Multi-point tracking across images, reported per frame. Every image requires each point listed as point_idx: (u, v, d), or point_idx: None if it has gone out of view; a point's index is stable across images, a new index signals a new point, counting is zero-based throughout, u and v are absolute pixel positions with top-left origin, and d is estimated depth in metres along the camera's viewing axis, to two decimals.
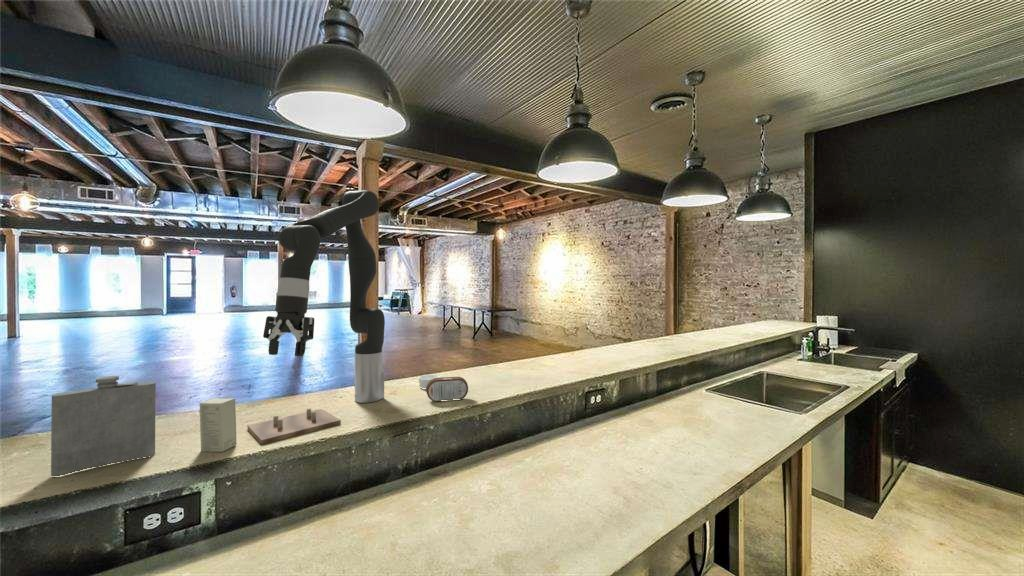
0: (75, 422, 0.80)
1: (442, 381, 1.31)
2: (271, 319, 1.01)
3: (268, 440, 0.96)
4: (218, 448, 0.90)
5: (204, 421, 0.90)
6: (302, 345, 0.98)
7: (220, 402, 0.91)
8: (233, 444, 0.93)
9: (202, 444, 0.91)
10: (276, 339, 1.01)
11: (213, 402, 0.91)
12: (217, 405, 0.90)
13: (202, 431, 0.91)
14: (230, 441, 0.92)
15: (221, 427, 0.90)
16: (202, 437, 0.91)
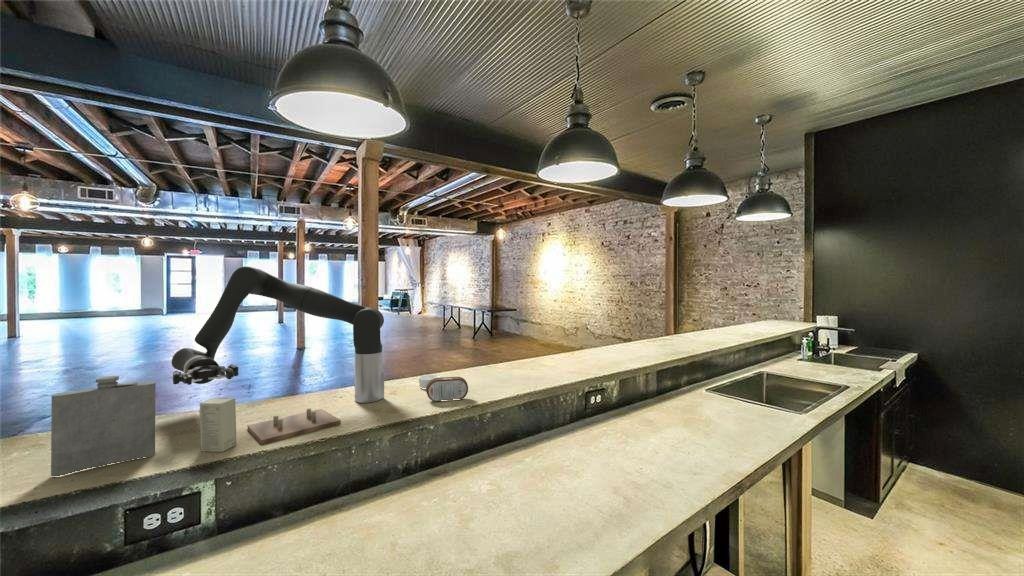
0: (75, 422, 0.80)
1: (442, 381, 1.31)
2: None
3: (268, 440, 0.96)
4: (218, 448, 0.90)
5: (204, 421, 0.90)
6: (183, 380, 0.98)
7: (220, 402, 0.91)
8: (233, 444, 0.93)
9: (202, 444, 0.91)
10: (226, 372, 1.06)
11: (213, 402, 0.91)
12: (217, 405, 0.90)
13: (202, 431, 0.91)
14: (230, 441, 0.92)
15: (221, 427, 0.90)
16: (202, 437, 0.91)
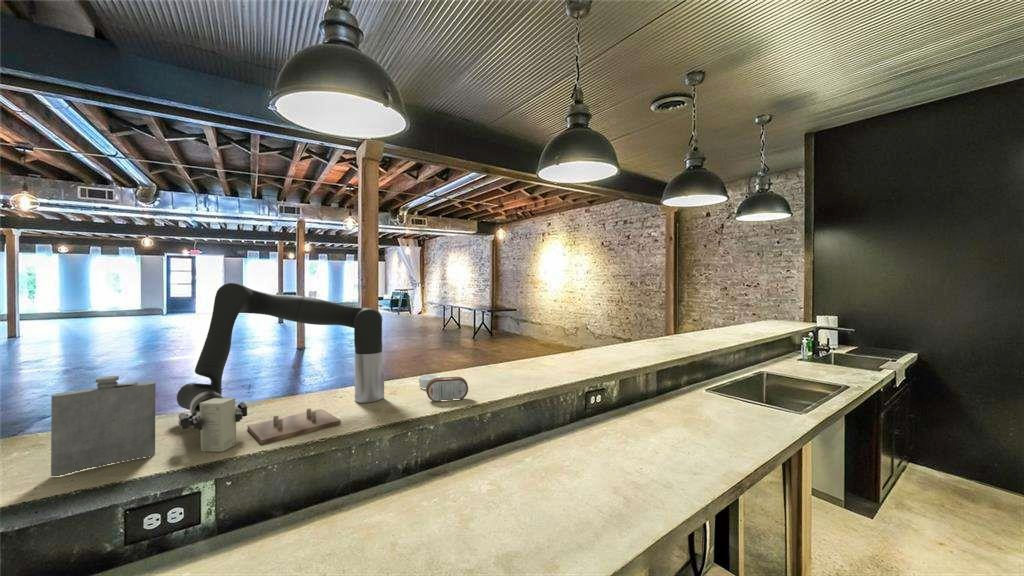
0: (75, 422, 0.80)
1: (442, 381, 1.31)
2: None
3: (268, 440, 0.96)
4: (218, 448, 0.90)
5: (204, 421, 0.90)
6: (193, 425, 0.89)
7: (220, 402, 0.91)
8: (233, 444, 0.93)
9: (202, 444, 0.91)
10: None
11: (213, 402, 0.91)
12: (217, 405, 0.90)
13: (202, 431, 0.91)
14: (230, 441, 0.92)
15: (221, 427, 0.90)
16: (202, 437, 0.91)
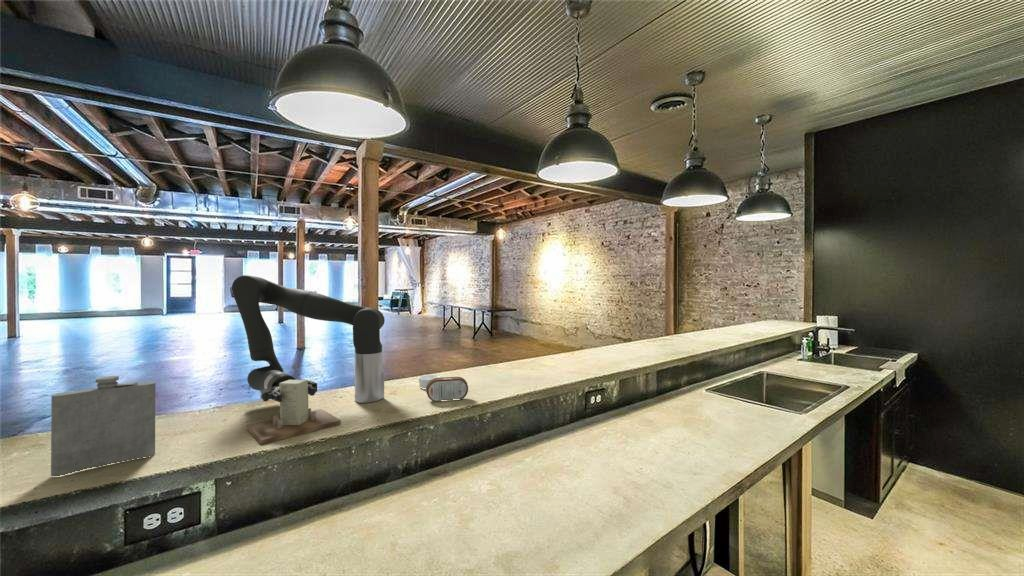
0: (75, 422, 0.80)
1: (442, 381, 1.31)
2: None
3: (268, 440, 0.96)
4: (295, 422, 1.05)
5: (283, 398, 1.05)
6: (273, 398, 1.04)
7: (297, 382, 1.05)
8: (306, 419, 1.08)
9: (281, 418, 1.05)
10: None
11: (291, 382, 1.06)
12: (295, 385, 1.05)
13: (282, 407, 1.05)
14: (304, 416, 1.07)
15: (298, 403, 1.05)
16: (282, 412, 1.05)
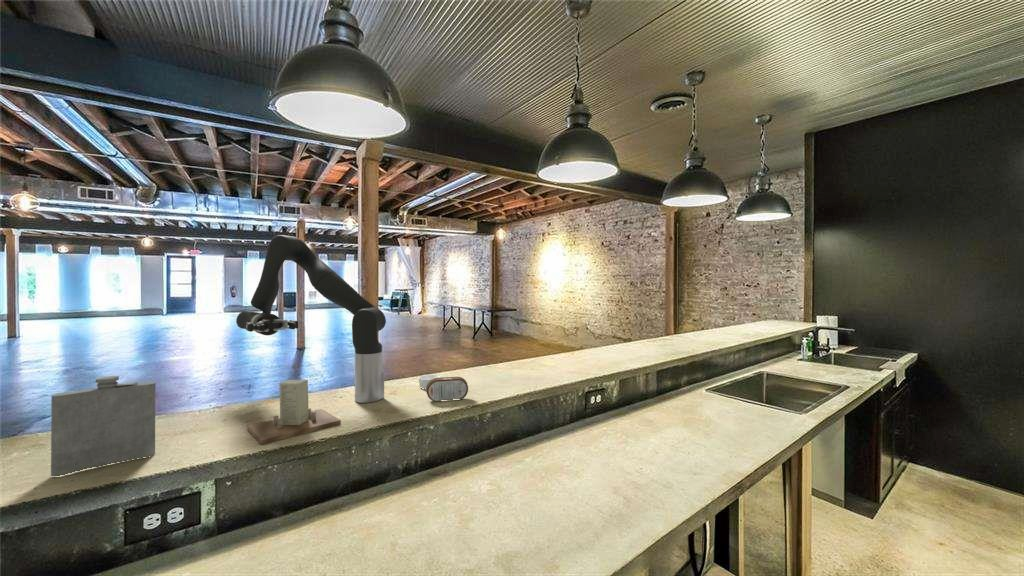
0: (75, 422, 0.80)
1: (442, 381, 1.31)
2: None
3: (268, 440, 0.96)
4: (295, 422, 1.05)
5: (283, 399, 1.05)
6: (257, 328, 1.16)
7: (297, 382, 1.05)
8: (306, 419, 1.08)
9: (281, 418, 1.05)
10: (289, 324, 1.24)
11: (291, 382, 1.06)
12: (295, 385, 1.05)
13: (282, 407, 1.05)
14: (304, 416, 1.07)
15: (298, 403, 1.05)
16: (282, 412, 1.05)
